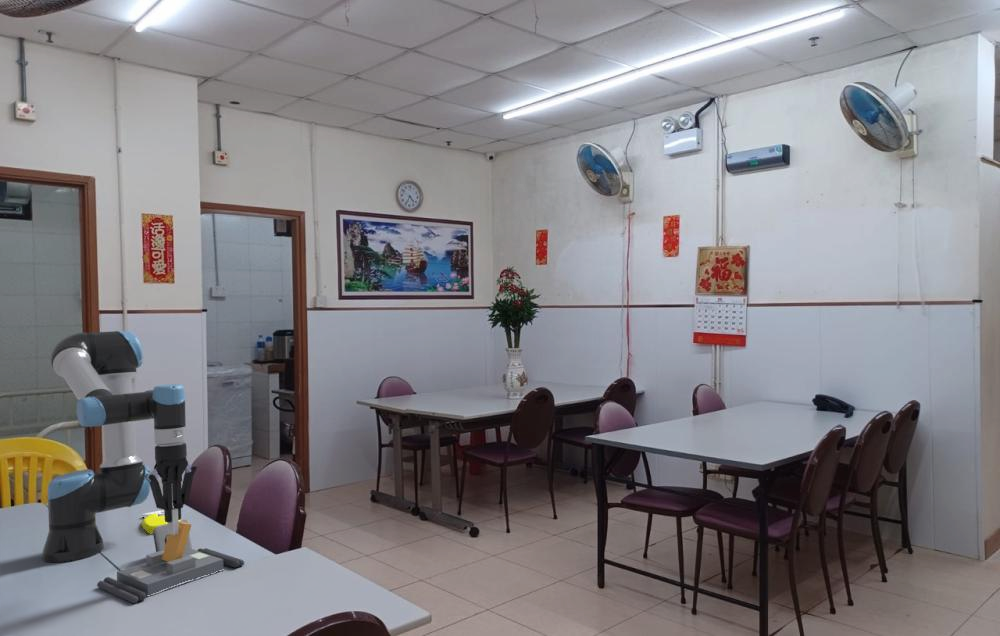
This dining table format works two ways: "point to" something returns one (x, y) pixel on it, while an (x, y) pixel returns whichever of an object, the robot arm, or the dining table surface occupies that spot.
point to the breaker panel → (166, 577)
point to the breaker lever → (176, 543)
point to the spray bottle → (153, 521)
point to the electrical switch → (162, 535)
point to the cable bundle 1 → (121, 590)
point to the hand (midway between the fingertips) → (173, 533)
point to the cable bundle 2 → (224, 558)
